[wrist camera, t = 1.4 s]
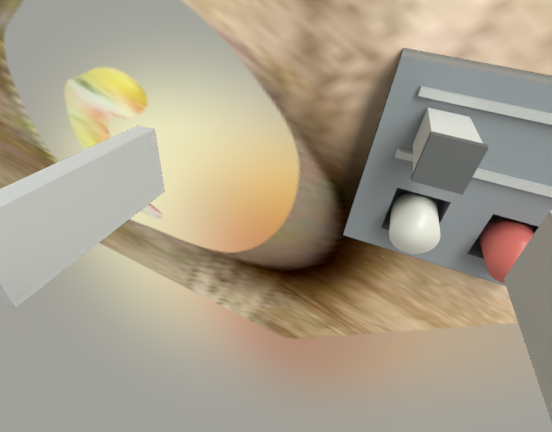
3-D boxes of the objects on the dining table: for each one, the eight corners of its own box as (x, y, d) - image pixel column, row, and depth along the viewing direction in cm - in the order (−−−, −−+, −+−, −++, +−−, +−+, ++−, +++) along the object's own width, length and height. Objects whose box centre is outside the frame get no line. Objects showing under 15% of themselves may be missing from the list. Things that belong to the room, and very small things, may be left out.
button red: (470, 246, 30) (477, 275, 27) (493, 212, 28) (503, 239, 25) (516, 260, 29) (529, 291, 26) (543, 226, 27) (561, 255, 24)
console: (350, 210, 37) (342, 238, 33) (403, 47, 27) (401, 56, 23) (529, 263, 33) (547, 303, 29) (667, 97, 23) (726, 119, 19)
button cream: (385, 221, 32) (382, 245, 29) (399, 186, 29) (398, 208, 26) (427, 233, 31) (428, 259, 28) (445, 199, 29) (449, 223, 26)
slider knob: (411, 145, 26) (410, 180, 21) (426, 105, 24) (431, 134, 19) (452, 155, 25) (462, 194, 20) (471, 115, 24) (488, 147, 18)
